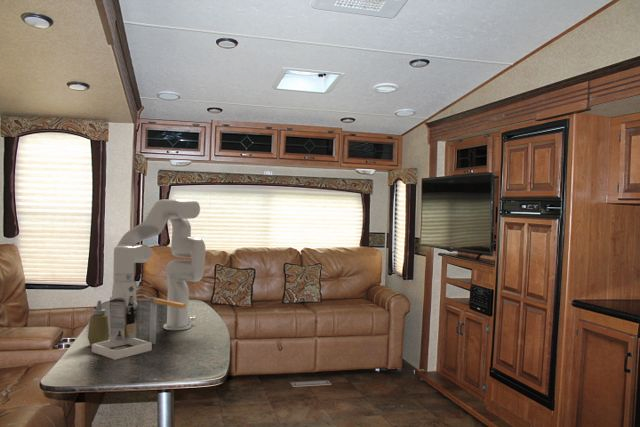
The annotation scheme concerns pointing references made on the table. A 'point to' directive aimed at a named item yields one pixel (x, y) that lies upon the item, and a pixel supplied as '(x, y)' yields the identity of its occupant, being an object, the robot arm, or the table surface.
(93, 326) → the squeeze bottle
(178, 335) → the table surface
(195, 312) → the table surface
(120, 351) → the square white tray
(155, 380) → the table surface
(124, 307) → the coffee box
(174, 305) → the bar
